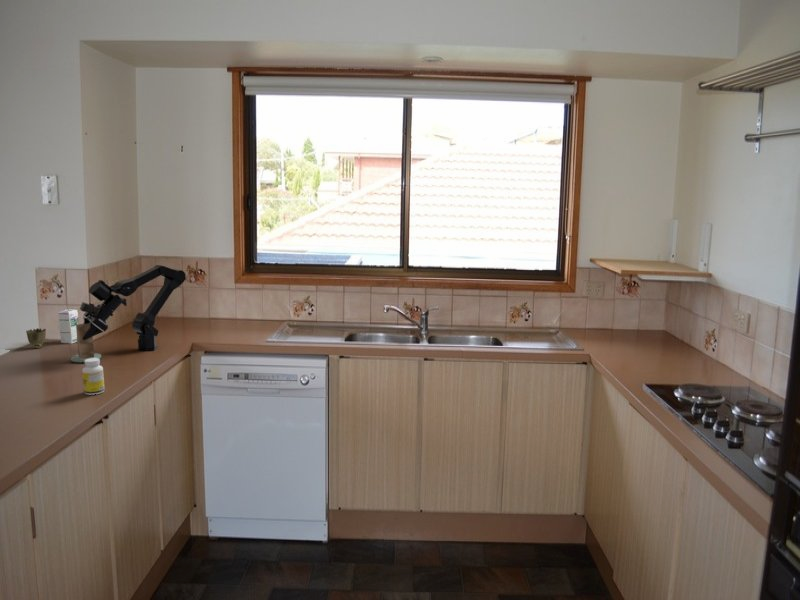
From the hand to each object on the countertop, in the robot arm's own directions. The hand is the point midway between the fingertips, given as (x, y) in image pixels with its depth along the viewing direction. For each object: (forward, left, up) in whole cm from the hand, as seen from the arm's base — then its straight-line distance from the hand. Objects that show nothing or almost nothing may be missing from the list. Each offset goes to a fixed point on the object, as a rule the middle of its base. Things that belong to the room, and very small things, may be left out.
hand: (80, 337), depth 267 cm
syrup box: (+17, -33, -10) cm, 38 cm away
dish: (-1, -1, -10) cm, 10 cm away
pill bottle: (-19, +43, -10) cm, 48 cm away
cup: (+27, -23, -10) cm, 36 cm away
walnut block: (-1, -1, -8) cm, 8 cm away
